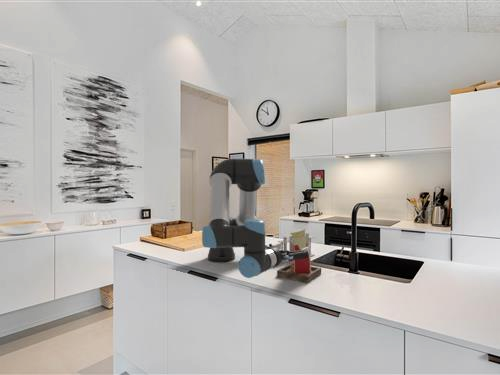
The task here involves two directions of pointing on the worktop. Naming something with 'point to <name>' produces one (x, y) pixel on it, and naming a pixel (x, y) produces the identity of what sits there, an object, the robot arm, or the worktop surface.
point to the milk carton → (297, 244)
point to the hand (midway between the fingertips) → (294, 247)
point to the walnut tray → (287, 274)
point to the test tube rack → (291, 243)
